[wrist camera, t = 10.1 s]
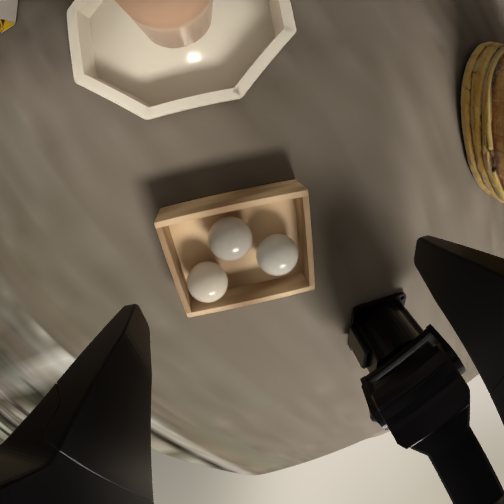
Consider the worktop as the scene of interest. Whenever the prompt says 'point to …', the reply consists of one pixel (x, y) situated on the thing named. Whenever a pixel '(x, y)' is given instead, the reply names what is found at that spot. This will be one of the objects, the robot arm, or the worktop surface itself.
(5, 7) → the medicine bottle
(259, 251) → the pebble
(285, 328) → the worktop surface
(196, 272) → the pebble
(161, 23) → the spice jar
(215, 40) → the dish
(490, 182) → the tankard
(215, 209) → the parts tray
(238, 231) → the pebble
